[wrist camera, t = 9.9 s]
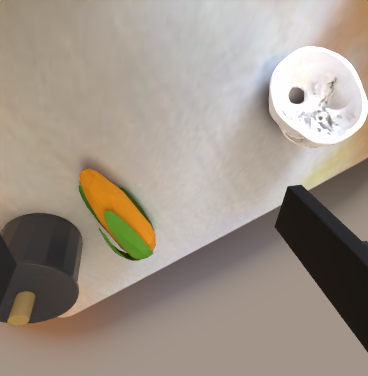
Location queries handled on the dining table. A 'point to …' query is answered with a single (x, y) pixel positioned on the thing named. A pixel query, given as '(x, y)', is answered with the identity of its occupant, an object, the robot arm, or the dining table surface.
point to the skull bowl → (317, 97)
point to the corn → (118, 215)
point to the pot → (45, 241)
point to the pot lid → (37, 293)
